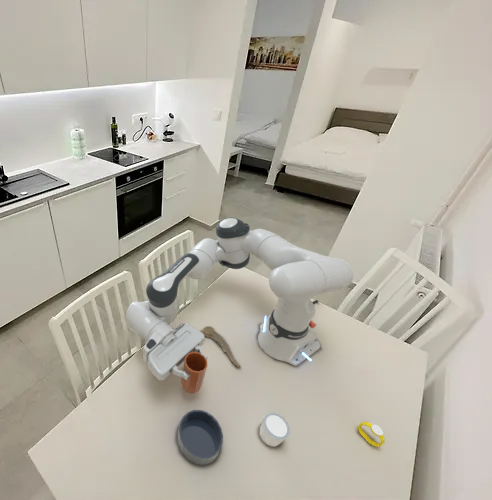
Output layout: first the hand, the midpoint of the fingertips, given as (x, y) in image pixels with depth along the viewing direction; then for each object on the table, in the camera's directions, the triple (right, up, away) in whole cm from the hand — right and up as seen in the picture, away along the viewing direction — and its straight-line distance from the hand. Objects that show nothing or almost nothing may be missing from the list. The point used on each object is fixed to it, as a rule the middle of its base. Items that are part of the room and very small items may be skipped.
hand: (197, 369), depth 82 cm
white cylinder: (+21, -19, 0) cm, 28 cm away
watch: (+49, -20, 0) cm, 53 cm away
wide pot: (0, -20, -1) cm, 20 cm away
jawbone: (+10, -2, +22) cm, 25 cm away
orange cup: (-1, -7, +6) cm, 9 cm away
